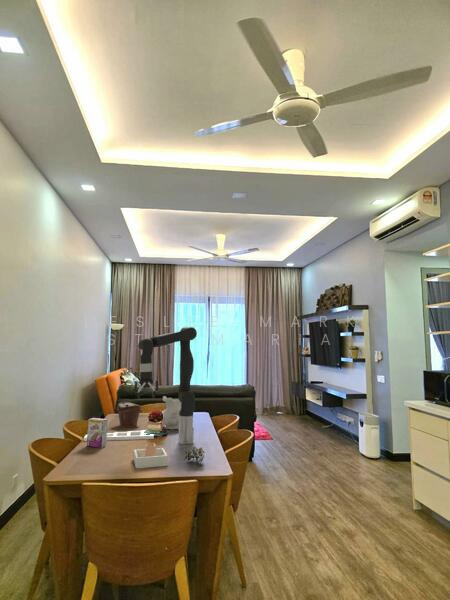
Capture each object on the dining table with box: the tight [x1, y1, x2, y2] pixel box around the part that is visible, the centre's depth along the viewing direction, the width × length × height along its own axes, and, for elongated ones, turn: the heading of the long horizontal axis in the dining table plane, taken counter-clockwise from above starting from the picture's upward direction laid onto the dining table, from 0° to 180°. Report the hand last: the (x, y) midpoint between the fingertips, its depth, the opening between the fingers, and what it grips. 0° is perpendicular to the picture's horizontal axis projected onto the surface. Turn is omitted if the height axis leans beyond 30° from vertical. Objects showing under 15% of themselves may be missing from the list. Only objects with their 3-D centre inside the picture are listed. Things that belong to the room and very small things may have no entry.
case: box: [116, 401, 143, 428], centre depth 289 cm, size 18×20×18 cm
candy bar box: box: [86, 417, 108, 449], centre depth 227 cm, size 11×5×16 cm, turn 71°
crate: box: [133, 447, 169, 469], centre depth 196 cm, size 16×16×5 cm
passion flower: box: [183, 444, 205, 466], centre depth 195 cm, size 11×11×12 cm
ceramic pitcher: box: [161, 395, 181, 430], centre depth 285 cm, size 22×20×25 cm
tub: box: [144, 443, 157, 457], centre depth 197 cm, size 5×5×8 cm
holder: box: [83, 429, 155, 442], centre depth 251 cm, size 45×18×3 cm, turn 101°
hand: (146, 398), depth 223 cm, fingers open, 8 cm apart
